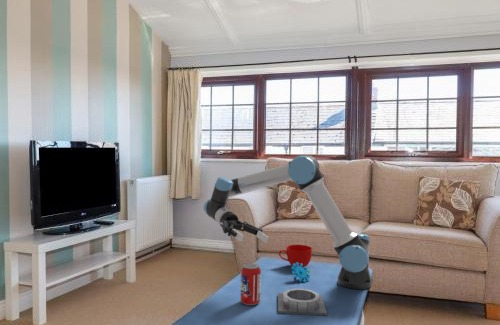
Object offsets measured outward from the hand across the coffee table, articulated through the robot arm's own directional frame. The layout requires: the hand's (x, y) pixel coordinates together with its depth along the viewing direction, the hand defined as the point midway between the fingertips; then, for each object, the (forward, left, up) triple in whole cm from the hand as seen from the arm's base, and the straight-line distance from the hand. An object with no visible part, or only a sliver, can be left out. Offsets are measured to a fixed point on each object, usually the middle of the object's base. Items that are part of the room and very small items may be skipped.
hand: (254, 239), depth 171 cm
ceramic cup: (-19, -44, -24) cm, 53 cm away
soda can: (+1, +6, -24) cm, 25 cm away
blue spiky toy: (-21, -24, -24) cm, 40 cm away
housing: (-19, +6, -24) cm, 31 cm away
